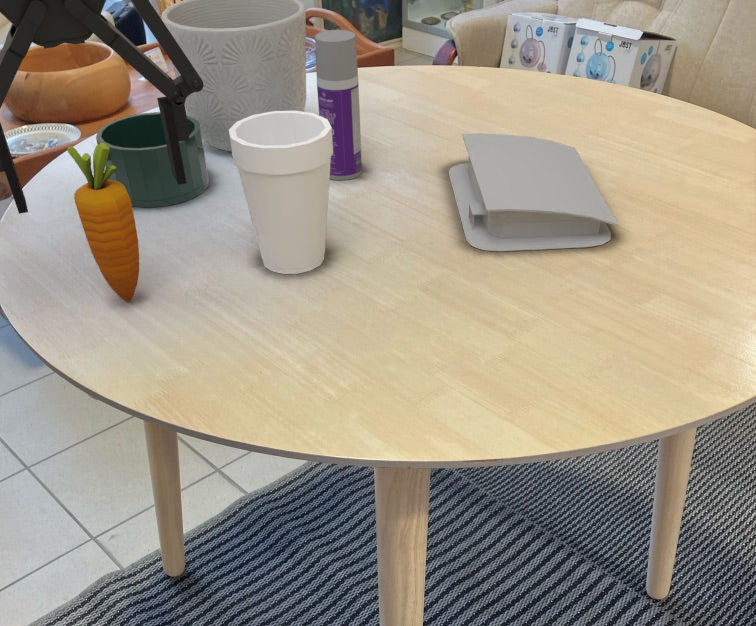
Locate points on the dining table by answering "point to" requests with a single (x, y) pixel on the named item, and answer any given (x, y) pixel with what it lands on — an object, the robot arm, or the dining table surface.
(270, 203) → the foam cup
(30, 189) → the dining table surface
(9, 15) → the robot arm
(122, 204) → the carrot
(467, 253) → the dining table surface
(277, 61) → the planter
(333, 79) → the container
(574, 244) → the grey flat folded piece
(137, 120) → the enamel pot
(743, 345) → the dining table surface
